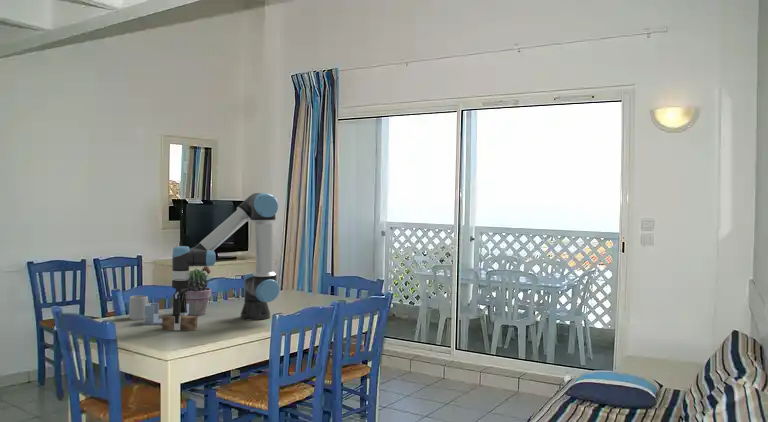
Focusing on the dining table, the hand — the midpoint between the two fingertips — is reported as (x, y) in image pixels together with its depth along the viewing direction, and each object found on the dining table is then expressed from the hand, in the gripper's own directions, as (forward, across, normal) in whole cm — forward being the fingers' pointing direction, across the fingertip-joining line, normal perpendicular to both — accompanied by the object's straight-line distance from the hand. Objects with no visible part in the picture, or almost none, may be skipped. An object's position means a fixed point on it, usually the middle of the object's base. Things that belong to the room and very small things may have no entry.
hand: (179, 328), depth 291 cm
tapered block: (+1, 0, 0) cm, 1 cm away
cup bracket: (0, -13, -10) cm, 16 cm away
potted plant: (+1, -36, -3) cm, 36 cm away
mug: (+1, -25, -27) cm, 37 cm away
